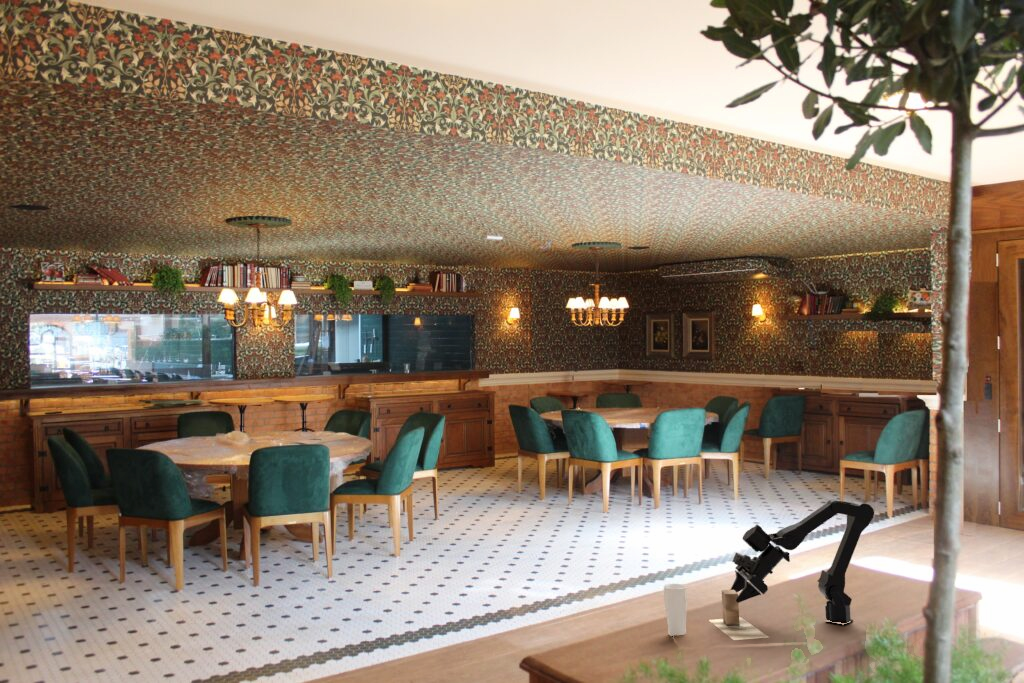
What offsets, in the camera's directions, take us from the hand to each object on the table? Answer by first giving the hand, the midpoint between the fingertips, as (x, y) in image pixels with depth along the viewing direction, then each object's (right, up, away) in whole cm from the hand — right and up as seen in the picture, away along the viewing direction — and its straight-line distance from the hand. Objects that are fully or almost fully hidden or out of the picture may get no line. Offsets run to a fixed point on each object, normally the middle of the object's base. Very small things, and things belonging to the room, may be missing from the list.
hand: (733, 597), depth 270 cm
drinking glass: (-19, -10, -7) cm, 23 cm away
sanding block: (-1, -8, 0) cm, 8 cm away
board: (0, -9, -5) cm, 10 cm away
